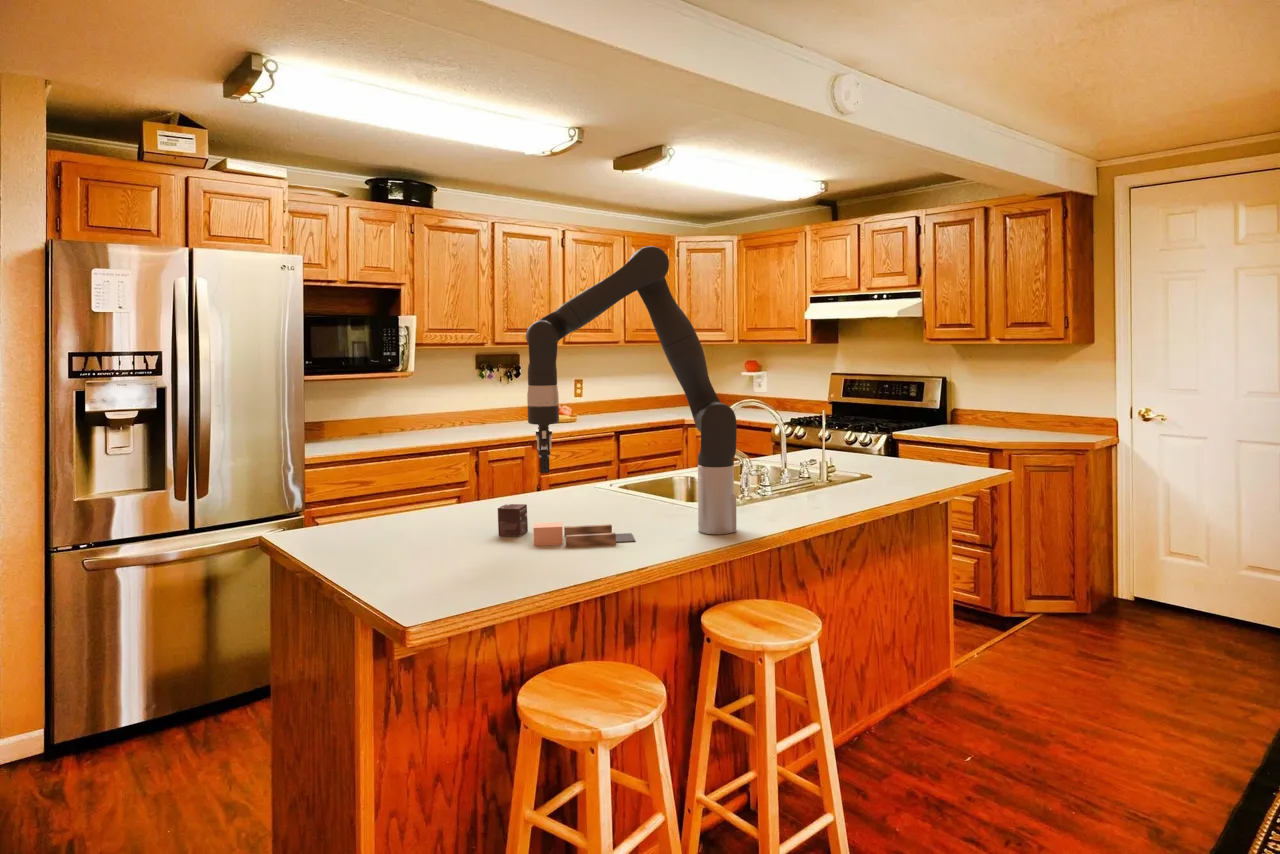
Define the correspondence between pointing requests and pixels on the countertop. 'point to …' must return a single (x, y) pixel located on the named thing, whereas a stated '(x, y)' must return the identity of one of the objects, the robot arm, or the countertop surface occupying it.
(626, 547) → the countertop surface
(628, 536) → the mat
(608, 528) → the brown wooden channel
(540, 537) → the block
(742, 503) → the countertop surface
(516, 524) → the box
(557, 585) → the countertop surface
